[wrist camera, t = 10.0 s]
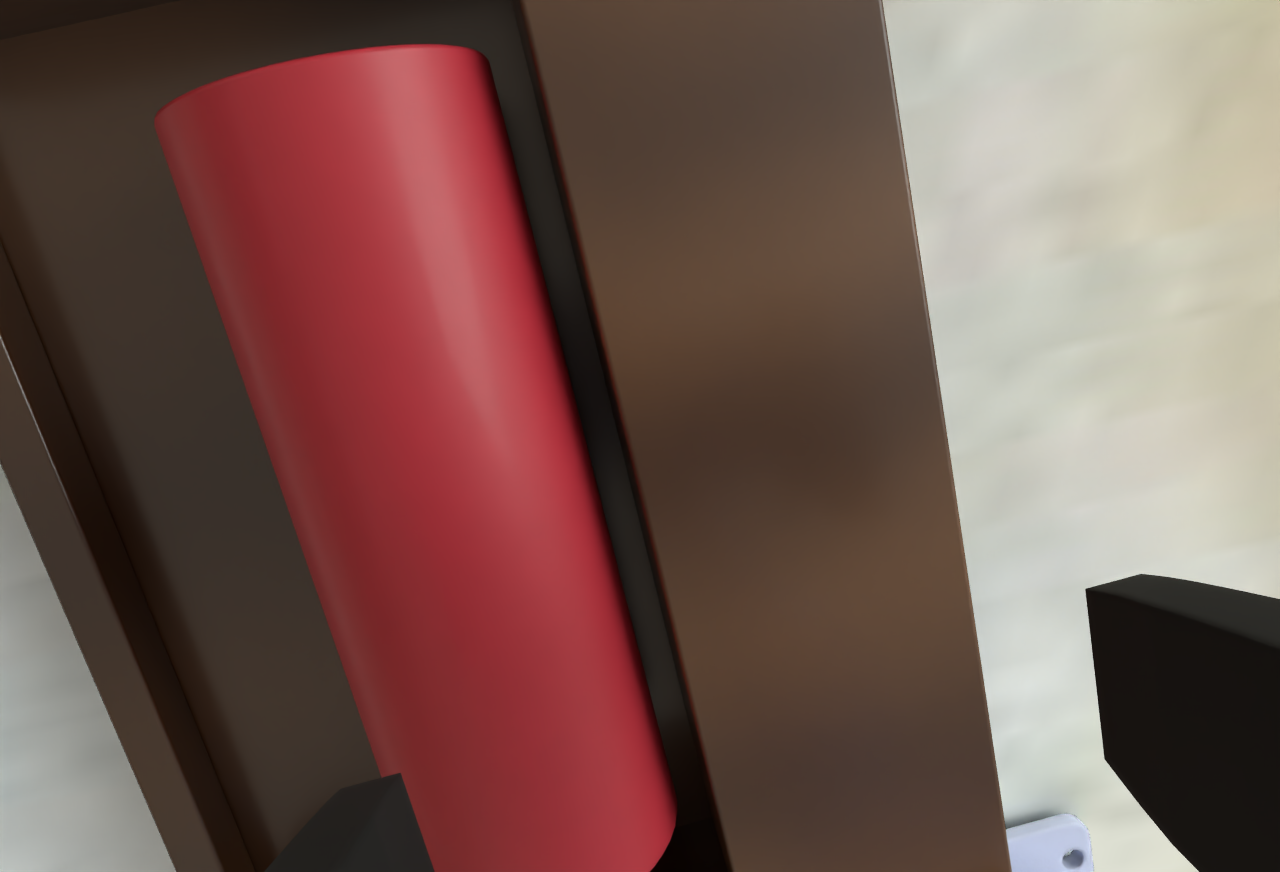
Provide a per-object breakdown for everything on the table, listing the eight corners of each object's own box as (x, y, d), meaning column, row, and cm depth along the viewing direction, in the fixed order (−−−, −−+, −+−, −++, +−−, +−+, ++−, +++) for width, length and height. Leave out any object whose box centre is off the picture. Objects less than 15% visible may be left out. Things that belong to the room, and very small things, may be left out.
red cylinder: (430, 794, 17) (652, 726, 17) (409, 982, 12) (706, 884, 13) (213, 146, 14) (488, 86, 14) (88, 100, 9) (487, 17, 10)
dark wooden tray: (893, 737, 20) (1037, 945, 14) (285, 903, 19) (172, 1195, 13) (736, -135, 15) (850, -357, 10) (-59, 40, 15) (-449, -86, 9)
